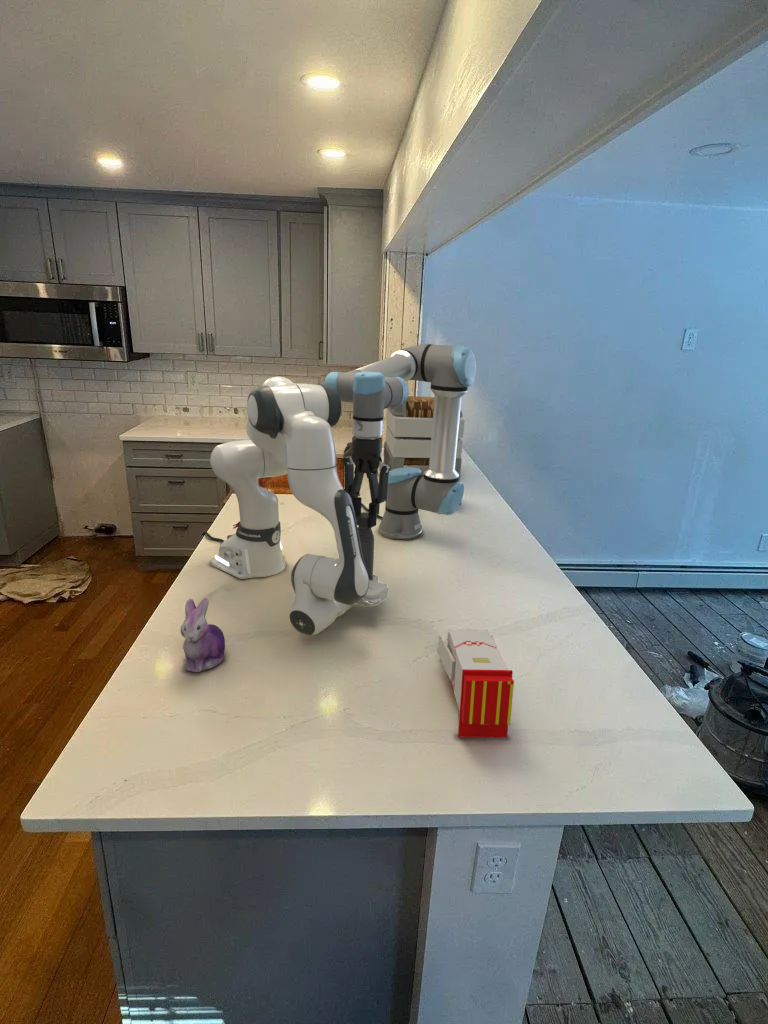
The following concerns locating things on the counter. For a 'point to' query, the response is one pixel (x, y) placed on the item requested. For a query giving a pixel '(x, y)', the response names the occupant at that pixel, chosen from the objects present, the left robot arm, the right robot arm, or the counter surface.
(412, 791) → the counter surface
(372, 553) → the bottle
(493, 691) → the toy
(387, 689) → the counter surface
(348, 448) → the grey lumpy piece
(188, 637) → the figurine
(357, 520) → the cap
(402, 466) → the white wooden crate
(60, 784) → the counter surface
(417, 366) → the right robot arm
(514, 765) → the counter surface
